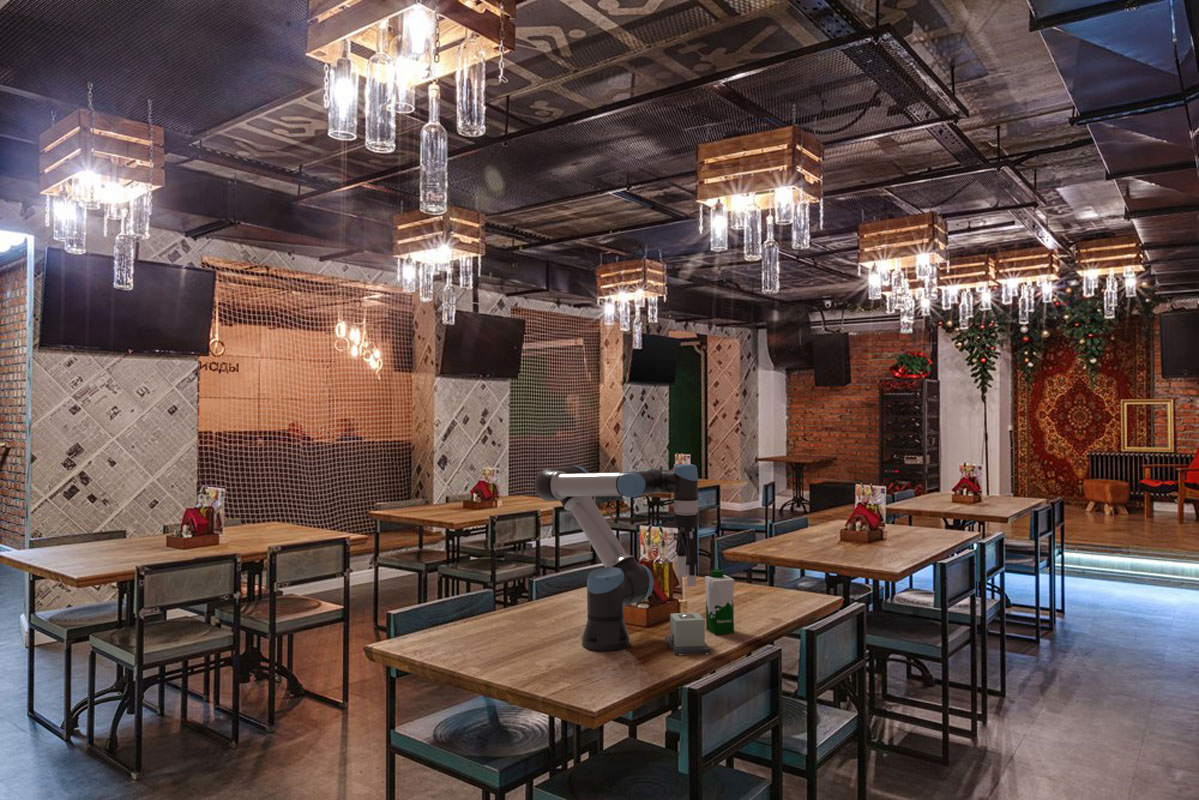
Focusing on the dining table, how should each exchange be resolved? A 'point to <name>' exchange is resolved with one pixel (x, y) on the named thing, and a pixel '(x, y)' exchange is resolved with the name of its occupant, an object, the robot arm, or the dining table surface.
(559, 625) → the dining table surface
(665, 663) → the dining table surface
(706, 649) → the base plate
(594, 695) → the dining table surface
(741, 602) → the dining table surface
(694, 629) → the notched green box
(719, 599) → the milk carton
